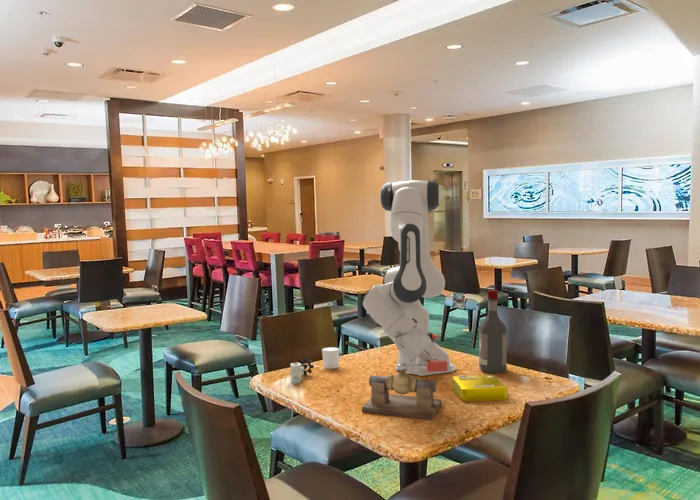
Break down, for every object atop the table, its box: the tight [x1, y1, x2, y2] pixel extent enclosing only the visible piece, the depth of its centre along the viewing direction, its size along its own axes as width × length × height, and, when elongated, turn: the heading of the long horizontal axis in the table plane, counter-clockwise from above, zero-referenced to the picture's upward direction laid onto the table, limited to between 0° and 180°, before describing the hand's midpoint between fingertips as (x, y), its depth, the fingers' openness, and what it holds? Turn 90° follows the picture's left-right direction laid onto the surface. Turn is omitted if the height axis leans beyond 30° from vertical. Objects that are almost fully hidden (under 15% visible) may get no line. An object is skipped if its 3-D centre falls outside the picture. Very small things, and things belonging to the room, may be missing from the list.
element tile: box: [451, 374, 509, 403], centre depth 180 cm, size 15×15×5 cm
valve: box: [289, 357, 315, 385], centre depth 199 cm, size 7×7×12 cm
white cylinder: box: [321, 346, 341, 370], centre depth 215 cm, size 7×7×7 cm
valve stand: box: [361, 371, 443, 421], centre depth 167 cm, size 14×21×11 cm, turn 70°
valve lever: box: [396, 360, 447, 372], centre depth 167 cm, size 15×3×3 cm, turn 94°
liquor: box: [478, 289, 508, 374], centre depth 207 cm, size 9×9×30 cm
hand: (432, 363), depth 170 cm, fingers closed
